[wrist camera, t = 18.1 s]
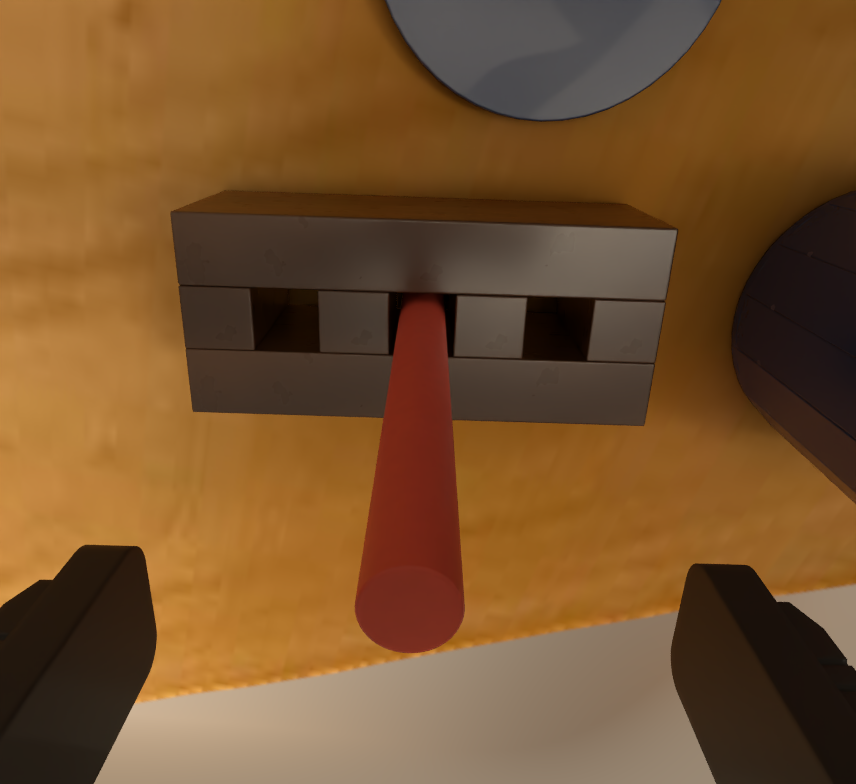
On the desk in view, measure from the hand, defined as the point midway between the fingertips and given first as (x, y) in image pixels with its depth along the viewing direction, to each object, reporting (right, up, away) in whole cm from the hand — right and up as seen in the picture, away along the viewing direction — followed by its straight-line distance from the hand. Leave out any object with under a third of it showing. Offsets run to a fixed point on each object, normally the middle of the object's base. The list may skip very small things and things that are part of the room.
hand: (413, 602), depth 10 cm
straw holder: (0, +8, +18) cm, 20 cm away
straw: (0, +8, +18) cm, 20 cm away
